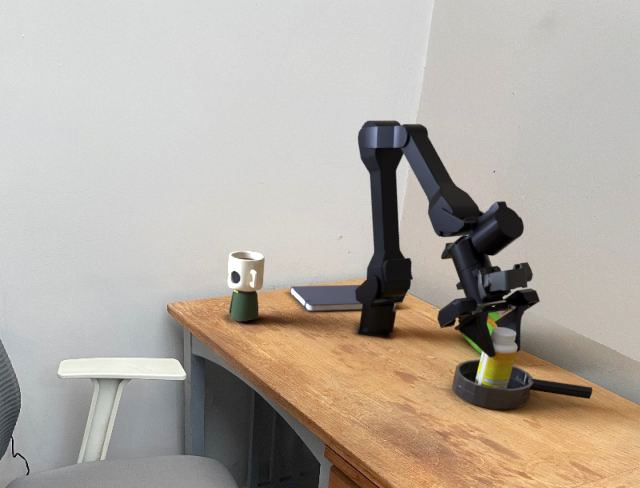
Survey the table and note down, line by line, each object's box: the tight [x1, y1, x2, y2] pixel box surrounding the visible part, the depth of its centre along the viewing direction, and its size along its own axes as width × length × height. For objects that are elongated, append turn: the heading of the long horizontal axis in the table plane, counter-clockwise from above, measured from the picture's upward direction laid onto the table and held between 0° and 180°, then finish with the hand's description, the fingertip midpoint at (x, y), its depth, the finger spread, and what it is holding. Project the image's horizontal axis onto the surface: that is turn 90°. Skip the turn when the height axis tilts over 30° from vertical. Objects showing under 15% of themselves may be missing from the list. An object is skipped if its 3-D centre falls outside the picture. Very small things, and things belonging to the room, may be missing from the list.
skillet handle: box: [531, 377, 593, 400], centre depth 134 cm, size 10×2×2 cm, turn 77°
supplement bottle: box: [475, 327, 518, 389], centre depth 134 cm, size 6×6×10 cm
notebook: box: [289, 284, 397, 312], centre depth 176 cm, size 13×2×21 cm
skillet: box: [451, 359, 534, 411], centre depth 136 cm, size 13×13×4 cm
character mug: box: [227, 250, 266, 322], centre depth 158 cm, size 11×7×13 cm, turn 22°
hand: (505, 354), depth 132 cm, fingers closed on supplement bottle, 5 cm apart
